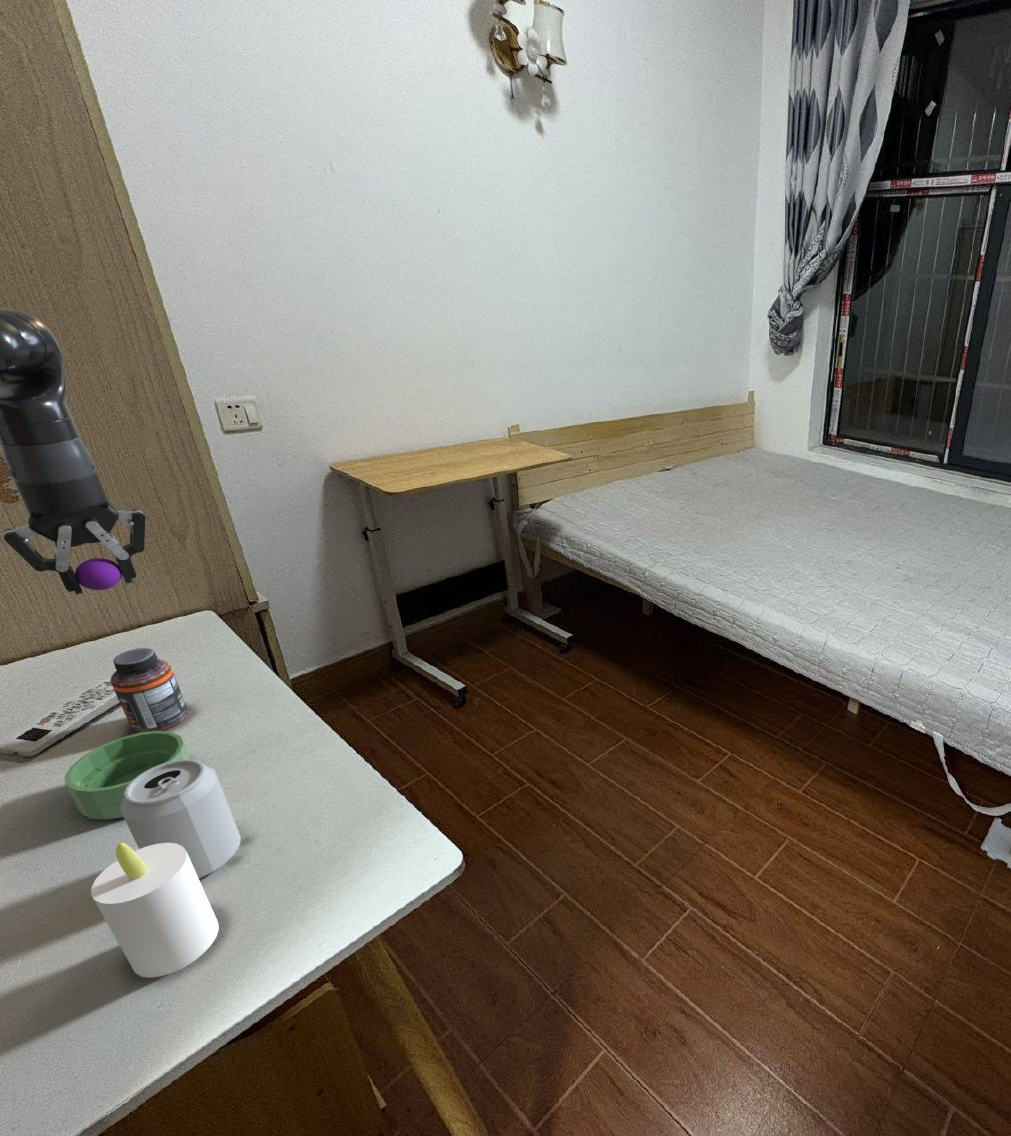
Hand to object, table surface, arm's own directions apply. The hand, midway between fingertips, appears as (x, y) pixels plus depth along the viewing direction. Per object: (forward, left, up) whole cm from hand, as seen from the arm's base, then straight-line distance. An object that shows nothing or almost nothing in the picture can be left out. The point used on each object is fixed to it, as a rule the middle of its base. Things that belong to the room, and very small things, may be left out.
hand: (103, 586), depth 89 cm
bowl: (+16, -25, -16) cm, 33 cm away
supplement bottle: (+10, -12, -16) cm, 22 cm away
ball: (0, 0, +2) cm, 2 cm away
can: (+29, -36, -16) cm, 49 cm away
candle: (+33, -46, -16) cm, 59 cm away
